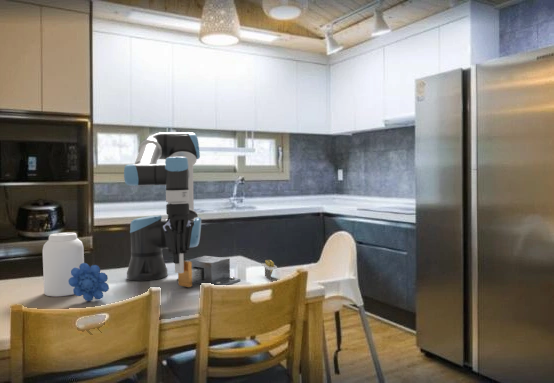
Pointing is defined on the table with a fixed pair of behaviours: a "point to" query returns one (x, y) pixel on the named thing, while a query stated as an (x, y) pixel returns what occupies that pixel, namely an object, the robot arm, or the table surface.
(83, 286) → the blue rosette flower
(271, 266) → the potted plant
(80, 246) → the white jar
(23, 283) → the table surface
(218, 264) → the bracket
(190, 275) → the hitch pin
